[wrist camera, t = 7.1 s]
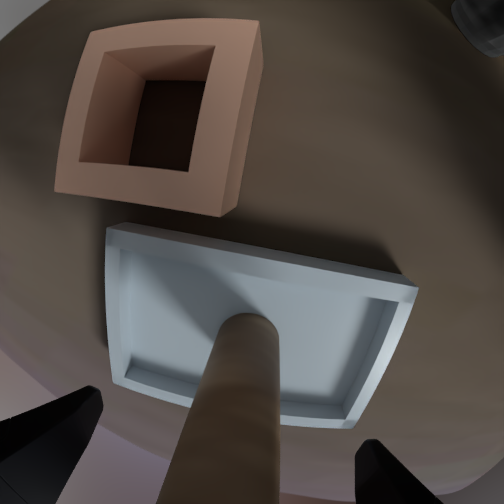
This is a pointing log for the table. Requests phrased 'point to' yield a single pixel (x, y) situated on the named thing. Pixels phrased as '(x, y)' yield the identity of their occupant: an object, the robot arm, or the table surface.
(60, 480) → the robot arm
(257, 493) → the dowel
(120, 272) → the tray
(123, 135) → the holder
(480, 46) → the beverage cup
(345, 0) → the table surface
